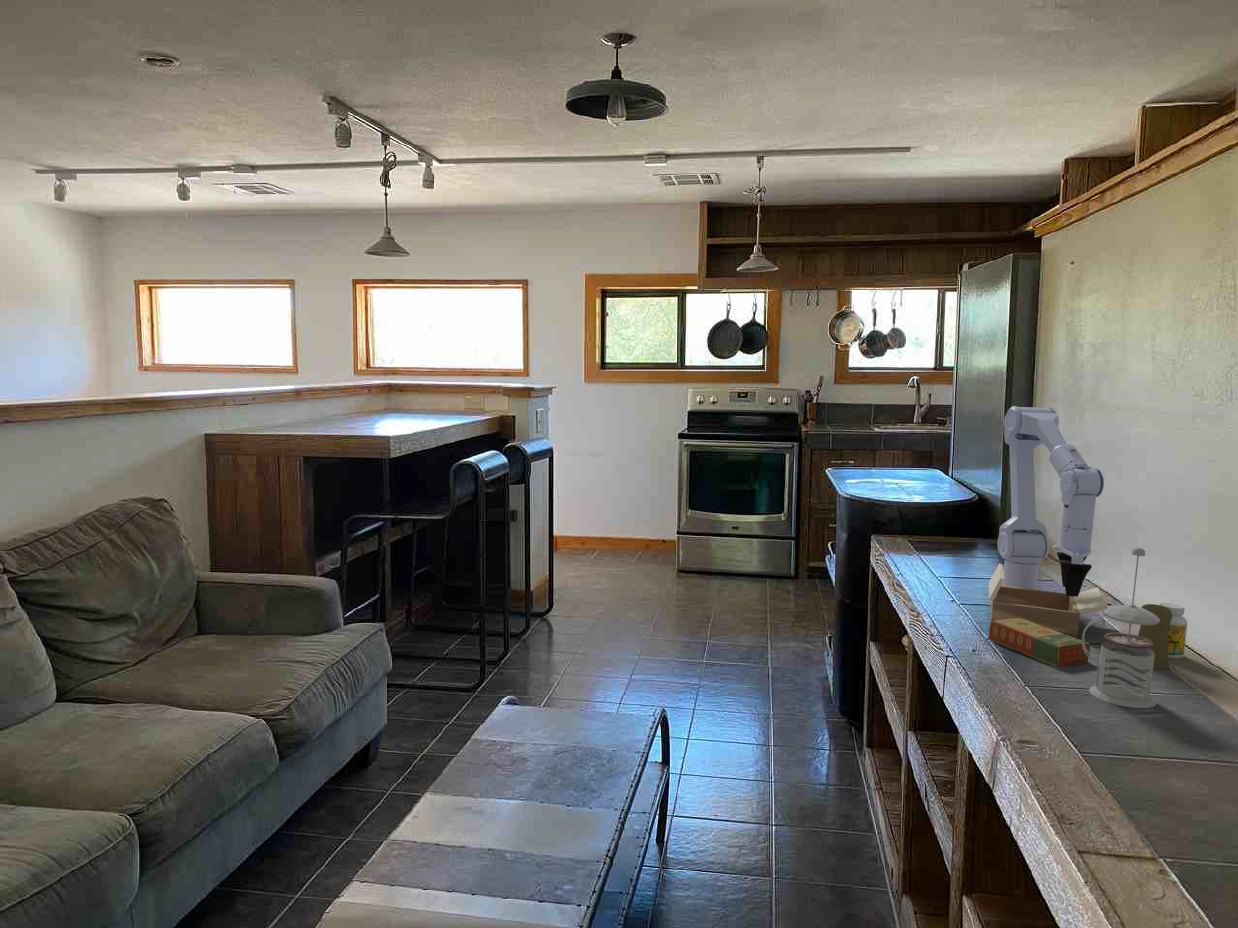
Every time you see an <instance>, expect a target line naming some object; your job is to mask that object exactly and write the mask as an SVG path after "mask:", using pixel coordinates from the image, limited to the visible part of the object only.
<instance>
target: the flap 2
mask: <svg viewBox="0 0 1238 928" xmlns="http://www.w3.org/2000/svg"><path fill="white" fill-rule="evenodd" d="M1074 599H1075V602H1076V604H1077V607H1078V609H1079V612H1080V617H1083V616H1085V615H1086V616H1087V615H1089V614H1094V613H1097V612H1100V611H1104V610H1105V609H1108V608H1109V607H1108V606H1107V602H1105V600H1104V597H1103V596H1102V593H1101V591H1100V590H1099V587H1095V588H1092V589H1088V590H1085V591H1080V592H1079V595H1078V597H1074Z"/></svg>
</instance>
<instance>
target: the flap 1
mask: <svg viewBox="0 0 1238 928" xmlns="http://www.w3.org/2000/svg"><path fill="white" fill-rule="evenodd" d="M1003 581H1004V564H1002V563H998V565H997V567H996V569H995V571H994V572H993V574H992V576H991V578H990V580H989V582H988V597H989V599H988V600H989V601H991V600H992V601H993V600H994V598H995V596H996V595H997V593H998V591H999V589H1000V587H1001V586H1002V583H1003Z"/></svg>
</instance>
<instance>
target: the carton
mask: <svg viewBox="0 0 1238 928" xmlns="http://www.w3.org/2000/svg"><path fill="white" fill-rule="evenodd" d="M988 631H989V634H988V639H989V641H991V642H993V643H997V644H999V645H1001V646H1004V647H1006V648H1008V649H1011V650H1013V649H1015V650H1014V651H1016V650H1017V651H1016V652H1018V651H1020V652H1019V653H1021V652H1022V654H1023V653H1025V654H1024V655H1026V654H1027V656H1028V655H1029V657H1031V656H1032V657H1031V658H1033V657H1034V658H1033V659H1035V660H1038V661H1040V662H1044V663H1046V664H1048V665H1050V666H1053V667H1056V668H1060V667H1066V666H1072V665H1078V664H1085V663H1088V662H1089V658H1088V656H1087V655H1086V654H1085V653H1084V650H1083V647H1082V639H1079V638H1075V637H1071V636H1068V635H1065V634H1062V633H1060V632H1057V631H1054V630H1052V629H1049V628H1046V627H1044V626H1041V625H1038V624H1035V623H1033V622H1030V621H1027V620H1024V619H1022V618H1013V619H1004V620H995V621H991V620H990V624H989V630H988ZM1084 642H1085V646H1086V648H1087V651H1088V652H1089V653H1090V649H1091V646H1090V643H1089V642H1087V641H1084ZM1085 651H1086V650H1085ZM1086 653H1087V652H1086ZM1087 654H1088V653H1087ZM1088 655H1089V654H1088ZM1089 656H1090V655H1089Z"/></svg>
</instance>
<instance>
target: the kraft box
mask: <svg viewBox="0 0 1238 928" xmlns="http://www.w3.org/2000/svg"><path fill="white" fill-rule="evenodd" d="M989 605H990V606H989V609H990V611H989V612H990V622H991V621H995V620H1004V619H1013V618H1022V619H1024V620H1027V621H1030V622H1033V623H1035V624H1038V625H1041V626H1044V627H1046V628H1049V629H1052V630H1054V631H1057V632H1060V633H1062V634H1065V635H1068V636H1071V637H1073V638H1076V639H1078V638H1079V637H1078V636H1079V635H1078V634H1079V627H1080V626H1079V625H1080V617H1081V614H1080V611H1079V609H1078V606H1077V604H1076V601H1075V598H1074V596H1067V595H1066V592H1065V593H1064V592H1057V591H1056V592H1055V591H1048V590H1047V591H1046V590H1041V589H1036V590H1033V589H1025V588H1017V587H1008V586H1002V585H1001V587H1000V589H999V591H998V593H997V595H996V596H995V598H994V600H993V601H992V600H990V604H989Z"/></svg>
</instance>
